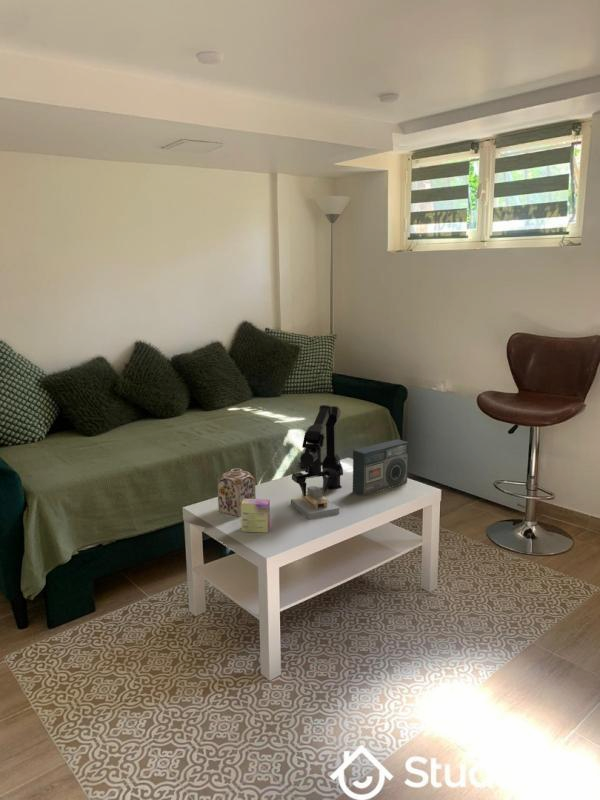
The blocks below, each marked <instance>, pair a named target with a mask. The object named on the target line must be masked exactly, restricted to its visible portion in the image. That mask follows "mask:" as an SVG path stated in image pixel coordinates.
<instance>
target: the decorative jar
mask: <svg viewBox="0 0 600 800" xmlns="http://www.w3.org/2000/svg"><path fill="white" fill-rule="evenodd" d="M244 498H245V499H257V496H256V479H255V477H254V476H253V475H252V474H251V473H250V472H249V471H245V470H242V468H231V470H230V471H226V472H225V473H223V474H222V476H221V477H220V478H219V479H218V481H217V504H218V512H220V513H223V514H226V515H231V516H234V517H239V518H241V503H242V501H243V499H244Z"/></svg>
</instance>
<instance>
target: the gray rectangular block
mask: <svg viewBox="0 0 600 800" xmlns="http://www.w3.org/2000/svg"><path fill="white" fill-rule="evenodd" d="M306 491H307V494H308V495H309V496H311V497H312V498H320V497H322V496H323V489H321V488H320V487H318V486H317V485H313V486H306Z"/></svg>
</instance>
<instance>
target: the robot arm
mask: <svg viewBox="0 0 600 800" xmlns="http://www.w3.org/2000/svg"><path fill="white" fill-rule="evenodd" d="M340 417H341V408H340V407H339V406H337V405H329V404H320V405H319V409H318V413H317V416H316V418H315V420H314V421H313V424H312V425H310V426H309V427H308V428H307V430H306V431H305V433H304V436H303V441H302V445H301V448H305V449H304V452H302V454H301V455H300V458H299V460H300V462H297V469H298V470H301V471H302V472H301V471H299V472H293V473H292V474H291V480H292V481H293V482H295V483H296V484H298V485H299V487H300V489H301V494H302V493H303V495H304V497H305V496H306V491H307V479H313V478H318V477H322V494H326V492H327V490H328V489H329V490H334V489H341V488H342V485H341V476H343V475H344V468H343V465H342V463H341V458H340V457H339V455H338V453H337V423H338V421H339V420H340ZM324 430H325V433H324ZM325 440H326V441H325ZM325 442H326V444H325V445H326V446H325V447H326V453H325V454H326V455H325V457H324V459H323V461H322V447H324V443H325ZM303 472H304V473H305V474H304V473H303Z"/></svg>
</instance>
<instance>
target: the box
mask: <svg viewBox="0 0 600 800" xmlns="http://www.w3.org/2000/svg"><path fill="white" fill-rule="evenodd" d="M270 503H271V500H270V499H268V498H267V499H265V498H262V499H261V498H256V499H245V498H244V499H243V501H242V503H241V516H240V518H241V532H242V533H244V532H245V533H248V532H249V533H264V534H268V533H269V531H270V528H271V517H270V516H271V508H270V507H271V504H270Z"/></svg>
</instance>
